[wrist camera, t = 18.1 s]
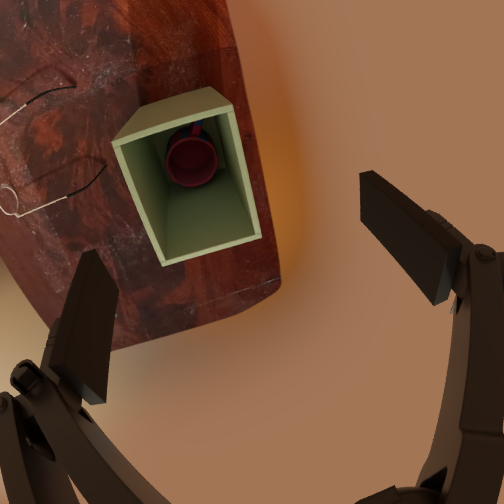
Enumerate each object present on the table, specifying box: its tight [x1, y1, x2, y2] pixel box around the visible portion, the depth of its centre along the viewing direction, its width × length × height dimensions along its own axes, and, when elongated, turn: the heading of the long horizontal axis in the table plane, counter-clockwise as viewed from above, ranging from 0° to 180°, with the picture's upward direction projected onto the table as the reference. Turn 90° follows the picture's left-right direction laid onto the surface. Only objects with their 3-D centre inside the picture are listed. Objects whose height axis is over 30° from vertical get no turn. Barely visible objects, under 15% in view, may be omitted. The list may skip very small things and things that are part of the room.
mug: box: [165, 119, 219, 187], centre depth 40 cm, size 7×10×7 cm
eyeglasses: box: [0, 86, 107, 218], centre depth 36 cm, size 16×19×5 cm
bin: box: [112, 86, 262, 266], centre depth 35 cm, size 13×10×20 cm
